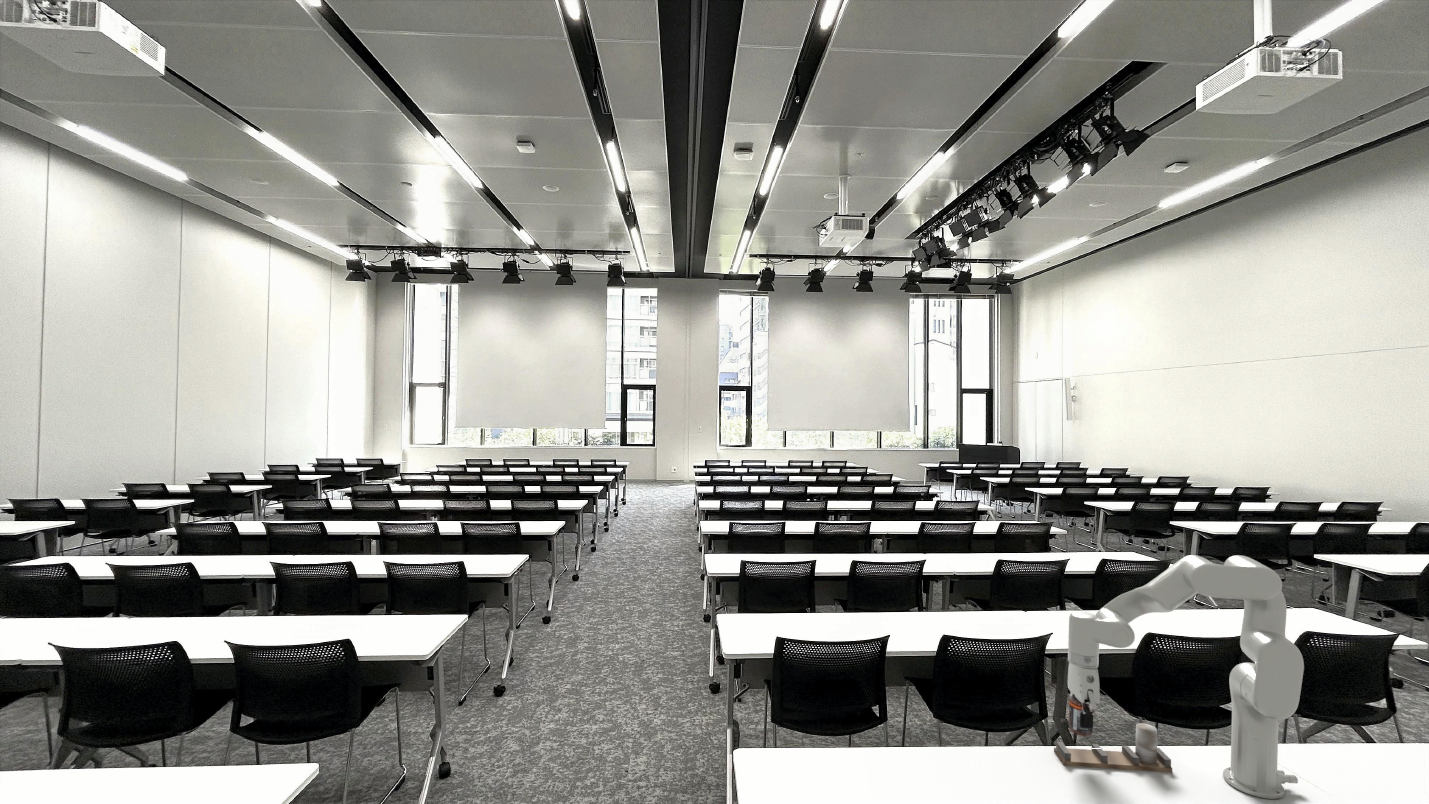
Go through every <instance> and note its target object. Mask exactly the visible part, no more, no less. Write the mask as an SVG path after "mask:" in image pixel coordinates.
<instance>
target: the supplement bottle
mask: <svg viewBox="0 0 1429 804" xmlns="http://www.w3.org/2000/svg"><path fill="white" fill-rule="evenodd" d="M1068 701H1069V704H1068V729H1069V730H1070V732H1072V733H1074V734H1076V735H1077V736H1083V737H1089V736H1091V735H1092V734H1093V733H1094V732H1093V730H1094V729H1093V728H1094V727H1093V728H1082V727H1080V712H1082V709H1081V702H1080V701H1079V700H1078V699H1077V698H1076V697H1075V695H1074V694H1073V696H1071V697H1070V696H1069V699H1068ZM1084 701H1085V702H1089V701H1088V700H1085V699H1084ZM1086 707H1089V704H1085V708H1086Z"/></svg>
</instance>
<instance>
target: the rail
mask: <svg viewBox="0 0 1429 804" xmlns="http://www.w3.org/2000/svg"><path fill="white" fill-rule="evenodd" d="M1055 744H1056V745H1055V747H1053V752H1054V753H1055V755H1056V756H1057V758H1058V759H1059V762H1061V764H1062V765H1063V766H1066V767H1068V766H1069V767H1082V768H1098V769H1114V770H1125V771H1126V770H1129V771H1145V772H1160V773H1173V767H1172V759H1171V758H1170V757H1169V756H1168V755H1167V754H1166V753H1165V752H1164V751H1163V750H1162V749H1161V748H1160V747H1158V729H1157V728H1156V727H1155V726H1154V725H1151V724H1149V723H1143V722H1140V723H1139V722H1137V723H1136V725H1135V750H1134V751H1133V749H1131V748H1130V746H1129V745H1121V751H1118V750H1116V751H1115V750H1114V751H1113V750H1103V748H1102V747H1101V746H1100V745H1099V744H1098V743H1091V749H1083V748H1067V746H1066V745H1065V743H1064V742H1063V741H1056V742H1055ZM1092 748H1101V749H1092Z"/></svg>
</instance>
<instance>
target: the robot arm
mask: <svg viewBox="0 0 1429 804" xmlns="http://www.w3.org/2000/svg"><path fill="white" fill-rule="evenodd" d="M1282 589H1283V581H1282V579H1281V577H1280V575H1279V574H1278V573H1277V572H1276V571H1275V570H1273V569H1272V568H1270V567H1268V566H1267V565H1265V564H1262V563H1261V562H1259V561H1257V560H1255V559H1253V558H1251V557H1249V556H1246V555H1242V554H1241V555H1239V554H1237V555H1232V556H1229V557H1228V558H1226V560H1225V561H1224V563H1223V564H1218V563H1214V562H1212V561H1211V560H1208V559H1207V558H1205V557H1203V556H1201V555H1196V554H1190V555H1185V556H1183V557H1182V558H1180V559H1178V560H1177V561H1176V562H1175V563H1173V564H1171V566H1169V567H1168V568H1167V569H1166V570H1164V571H1163V572H1161V573H1160V574H1159V575H1157V576H1156V577H1155V578H1153V579H1151V580H1150V581H1149V582H1148V583H1146V584H1144V585H1143V586H1140V587H1135V588H1133V589H1132V590H1129V591H1127V592H1124V593H1121V594H1120V595H1118V596H1116V597H1114V598H1113V599H1111V600H1110V601H1108V603H1106V604H1105V605H1103V607H1101V608H1100V609H1099V610H1098V611H1097V612H1096V614H1093V613H1090V612H1087V611H1072V612H1071V613H1070V614H1069V618H1068V619H1069V620H1068V642H1067V643H1068V644H1067V645H1068V646H1067V662H1068V668H1067V669H1068V670H1067V688H1068V691H1069V698H1070V697H1071V696H1073V694H1074V695H1075V697H1076V698H1077V699H1078V700H1079V701H1080V702H1081V709H1082V712H1080V727H1082V728H1094V715H1095V711H1096V710H1097V709H1098V707H1097V705H1100V676H1099V669H1098V668H1099V664H1100V663H1099V658H1100V657H1099V656H1100V644H1101V645H1105V646H1108V647H1113V648H1117V649H1125V648H1128V647H1131V646H1132V645H1133V643H1134V642H1135V639H1136V638H1135V637H1136V635H1135V631H1134V630H1133V628H1132V626H1131V625H1130V623H1131V622H1133V621H1134V620H1135V619H1137V618H1139V617H1141V616H1143V615H1147V614H1151V613H1170V612H1173V611H1175V610H1176V609H1177V608H1178V607H1181V606H1182V604H1184V603H1185V602H1187V601H1189V600H1190V599H1191V598H1192V597H1194V596H1196V595H1197V594H1200V595H1201V596H1205V597H1209V598H1210V597H1211V598H1217V599H1230V600H1243V603H1244V605H1243V619H1242V625H1241V632H1240V638H1239V639H1240V640H1239V645H1240V648H1241V651H1242V652H1243V653H1244V654H1245V655H1246V657H1248V658H1249V659H1250V660H1251V661H1252V662H1248V661H1247V662H1242V663H1241V662H1240V663H1239V664H1236V665H1235V666H1234V667H1233V668H1232V669H1231V671H1230V673H1229V680H1228V681H1229V683H1228V684H1229V690H1230V691H1229V692H1230V698H1231V732H1230V733H1231V737H1230V738H1231V739H1230V741H1231V742H1230V767H1226V768H1224V769H1223V771H1222V778H1223V779H1224V780H1225V781H1226V783H1227V784H1229V785H1231V786H1232V787H1233V788H1235V789H1236V790H1238V791H1240V792H1242V793H1245V794H1248V795H1250V796H1254V797H1256V798H1257V797H1258V798H1262V799H1267V800H1268V799H1270V800H1273V799H1274V800H1276V799H1281V798H1283V797H1284V796H1285V787H1284V786H1283V785H1285V783H1288V784H1298V782H1299V780H1298V777H1297V775H1294V774H1285V771H1284V770H1282V769H1281V770H1280V769H1278V755H1279V753H1278V752H1279V750H1278V749H1279V747H1278V746H1279V721H1283V720H1287V719H1289V718H1290V717H1292V716H1293V715H1294V713H1296V711H1297V709H1298V707H1299V704H1300V703H1299V702H1300V698H1301V697H1300V696H1301V691H1302V684H1303V678H1304V677H1303V676H1304V671H1305V664H1304V658H1303V654H1302V653H1301V651H1300V649H1299V648H1298V646H1297V645H1296V644H1294V642H1292V641H1291V640H1289V639H1288V638H1287V637H1286V624H1287V602H1286V601H1287V600H1286V598H1285V596H1284V595H1285V594H1284V593H1283V591H1282ZM1084 699H1085V700H1088V701H1089V702H1085V701H1084ZM1085 704H1089V707H1086V708H1085Z"/></svg>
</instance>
